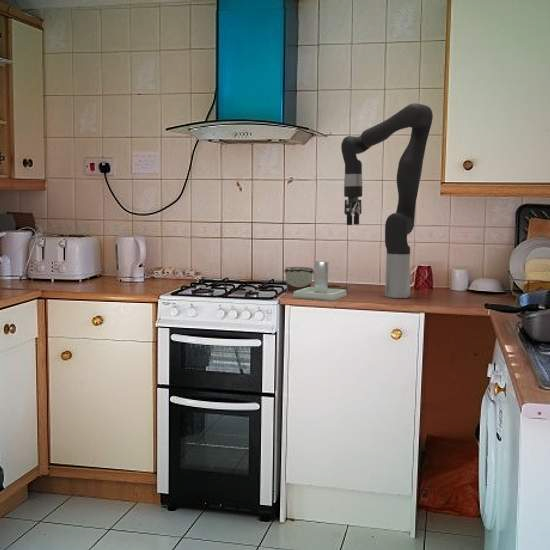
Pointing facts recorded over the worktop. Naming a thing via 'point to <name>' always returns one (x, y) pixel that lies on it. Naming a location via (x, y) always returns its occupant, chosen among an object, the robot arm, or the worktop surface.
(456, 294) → the worktop surface
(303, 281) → the food container
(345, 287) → the socket block
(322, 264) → the grey metallic cylinder
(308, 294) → the tray
